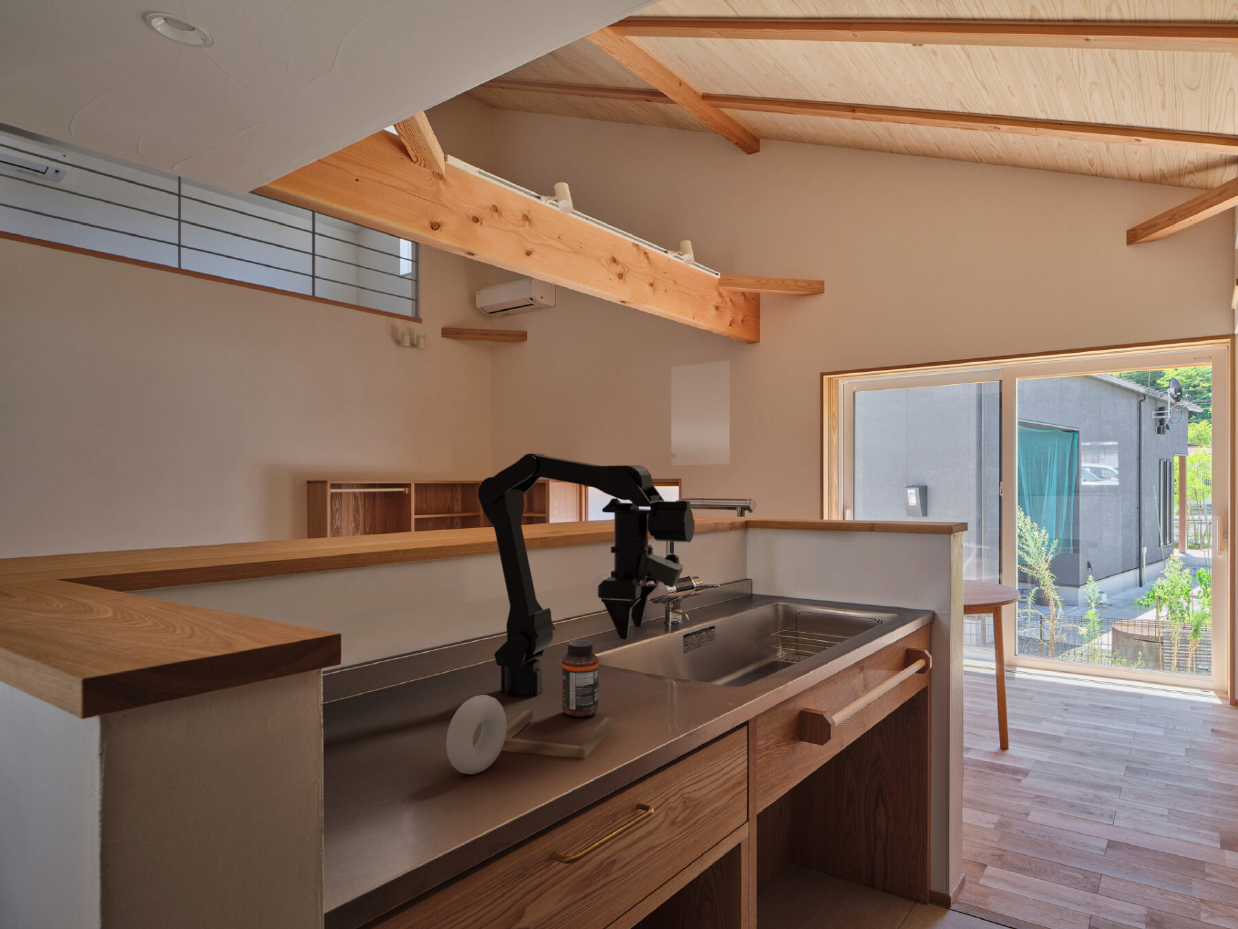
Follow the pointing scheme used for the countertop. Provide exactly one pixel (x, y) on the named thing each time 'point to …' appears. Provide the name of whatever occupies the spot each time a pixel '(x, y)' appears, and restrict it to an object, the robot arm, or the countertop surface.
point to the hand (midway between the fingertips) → (631, 632)
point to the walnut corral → (548, 747)
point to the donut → (464, 728)
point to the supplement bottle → (580, 679)
